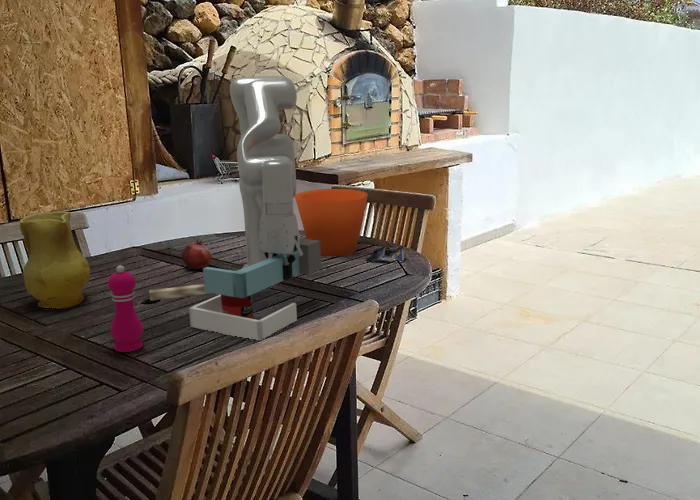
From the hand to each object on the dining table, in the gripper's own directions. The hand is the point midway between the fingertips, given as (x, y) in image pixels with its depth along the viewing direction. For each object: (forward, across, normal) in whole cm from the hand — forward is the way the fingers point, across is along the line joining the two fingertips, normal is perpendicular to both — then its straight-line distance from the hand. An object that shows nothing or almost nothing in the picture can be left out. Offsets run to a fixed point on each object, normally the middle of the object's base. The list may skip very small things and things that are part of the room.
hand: (281, 277), depth 183 cm
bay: (+10, -3, -12) cm, 16 cm away
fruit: (+9, -49, +21) cm, 54 cm away
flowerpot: (+9, -21, +59) cm, 63 cm away
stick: (+9, -34, -2) cm, 35 cm away
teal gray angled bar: (0, -3, -3) cm, 4 cm away
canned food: (+10, -7, -10) cm, 16 cm away
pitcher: (+9, -61, -22) cm, 65 cm away
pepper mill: (+10, -18, -37) cm, 42 cm away
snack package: (+9, +1, +56) cm, 57 cm away
